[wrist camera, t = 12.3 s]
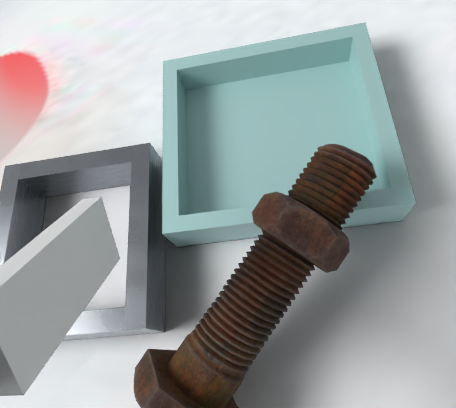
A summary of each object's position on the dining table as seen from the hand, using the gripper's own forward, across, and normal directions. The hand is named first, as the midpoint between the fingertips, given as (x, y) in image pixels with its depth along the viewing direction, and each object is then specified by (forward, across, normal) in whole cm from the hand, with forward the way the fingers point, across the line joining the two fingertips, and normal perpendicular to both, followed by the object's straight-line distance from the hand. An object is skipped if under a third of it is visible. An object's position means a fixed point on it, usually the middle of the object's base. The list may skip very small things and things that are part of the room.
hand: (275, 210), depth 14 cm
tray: (+13, 0, -1) cm, 13 cm away
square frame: (+8, -13, -5) cm, 16 cm away
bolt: (+6, +4, 0) cm, 7 cm away
